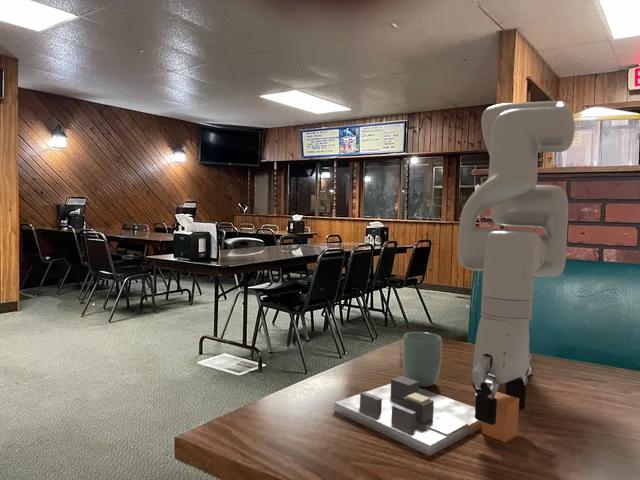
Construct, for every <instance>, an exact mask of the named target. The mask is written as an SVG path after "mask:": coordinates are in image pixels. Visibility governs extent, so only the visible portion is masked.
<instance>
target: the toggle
mask: <svg viewBox="0 0 640 480" xmlns="http://www.w3.org/2000/svg"><path fill="white" fill-rule="evenodd" d="M390 379H391V380H390V384H391V395H392V396H394V397H397V398H399V399H402V400H403V398H404V397H406V396H408V395H410V394H413V393H418V391H419V388H420V386H419V382H418V381H415V380H412V379H409V378H406V377H405V376H403V375H400V376H397V377H394V378H390Z"/></svg>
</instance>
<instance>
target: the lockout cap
mask: <svg viewBox="0 0 640 480" xmlns="http://www.w3.org/2000/svg"><path fill="white" fill-rule="evenodd" d="M494 398H496V399H497V409H496V423H495V424H494V425H491V424H488V423H485V422H482V428H481V434H483V435H485V436H488V437H490V438H493V439H495V440H499V441H501V442H504V443H507V442H508V441H510V440H512V439H514V438H515V437H517V436H518V428H519V427H518V426H519V425H518V424H519V412H520V411H519V410H520V409H519V398H515V397H512V396H509V395H506V394H505V393H503V392H499V391H497V392H496V394H495V397H494Z"/></svg>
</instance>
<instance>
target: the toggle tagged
mask: <svg viewBox="0 0 640 480" xmlns="http://www.w3.org/2000/svg"><path fill="white" fill-rule="evenodd" d="M403 407H404V408H407V409H409V410H412V411H414V412H416V421H417V422H419V423H422V424H423V423H425V422H427V421H429V420H431V419H433V409H434V401H433V400H430V398H429V397H426V396H423V395H421V394H418V393H413V394H410V395H408V396H406V397H404V398H403Z"/></svg>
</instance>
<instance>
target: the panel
mask: <svg viewBox="0 0 640 480" xmlns="http://www.w3.org/2000/svg"><path fill="white" fill-rule="evenodd" d="M418 394H421V395H423V396H426V397H429V398H430V400H433V401H434V409H433V419H431V420H429V421H427V422H425V423H423V424H422V423H419V422H417V421H416V412H414V411H412V410H409V409H407V408H404V407H403V400H402V399H399V398H397V397H394V396H392V395H391V383H388V384H386V385H383V386H379V387H376V388H373V389H370V390H368V391H363V392H360V393H358V394H355V395H353V396H352V395H351V396H350V397H346V398H344V399H340V400H338V401H334V412H335V413H338V414H339V415H342V416H343V417H346V418H347V419H350V420H352V421H355V422H357V423H358V424H361V425H362V426H364V427H367V428H369V429H371V430H374V431H375V432H378V433H380V434H382V435H384V436H386V437H389V438H391V439H393V440H394V441H397V442H399V443H401V444H403V445H405V446H408V447H410V448H411V449H413V450H416V451H418V452H420V453H423V454H424V455H427V456H432V455H434V454H435V453H438V452H439V451H442V450H443V449H445V448H447V447H449V446H451V445H453V444H455V443H456V442H458V441H460V440H462V439H463V438H465V437H467V436H469V435H471V434H473V433H474V432H476V431H478V430H480V429H482V421H479V420H477V419H476V418H475V406H472V405H469V404H466V403H464V402H460V401H457V400H455V399H452V398H449V397H446V396H443V395H441V394H437V393H435V392H431V390H430V391H429V390H426V389H423V388H421V387H419V391H418Z"/></svg>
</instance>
